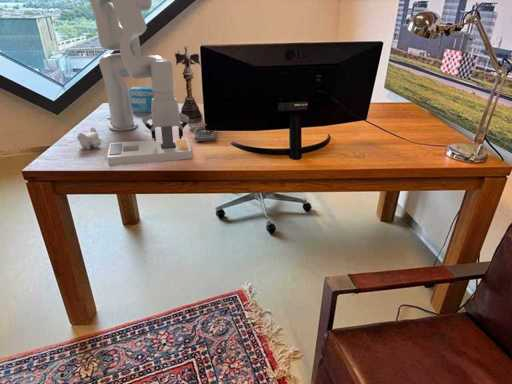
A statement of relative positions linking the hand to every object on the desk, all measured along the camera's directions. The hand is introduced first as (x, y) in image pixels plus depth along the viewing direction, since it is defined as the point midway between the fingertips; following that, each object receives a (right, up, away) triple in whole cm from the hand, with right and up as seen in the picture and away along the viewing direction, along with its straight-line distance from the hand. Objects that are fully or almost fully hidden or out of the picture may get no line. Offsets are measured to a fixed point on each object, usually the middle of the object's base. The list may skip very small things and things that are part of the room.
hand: (167, 139), depth 139 cm
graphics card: (+10, +4, +21) cm, 23 cm away
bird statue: (+1, +17, +41) cm, 45 cm away
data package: (-24, +21, +48) cm, 57 cm away
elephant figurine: (-32, -3, +5) cm, 32 cm away
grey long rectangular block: (0, -5, +3) cm, 6 cm away
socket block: (-7, -6, +1) cm, 9 cm away
